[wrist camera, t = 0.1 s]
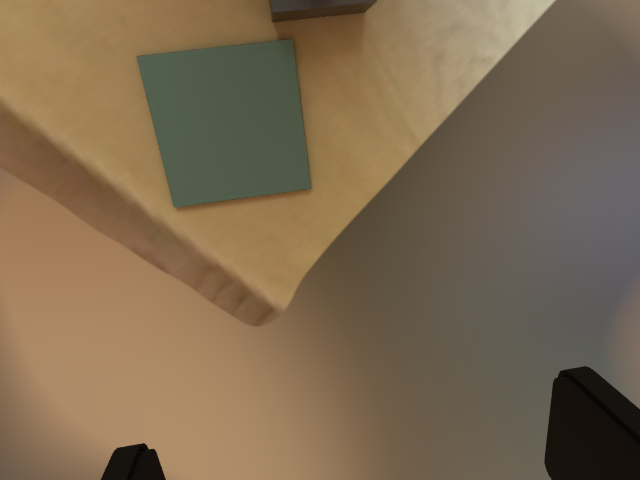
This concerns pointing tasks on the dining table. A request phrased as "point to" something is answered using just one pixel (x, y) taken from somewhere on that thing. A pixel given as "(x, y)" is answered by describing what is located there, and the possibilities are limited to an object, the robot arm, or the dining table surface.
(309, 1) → the plane body
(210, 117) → the rubber mat
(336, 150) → the dining table surface
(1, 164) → the dining table surface
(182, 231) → the dining table surface
